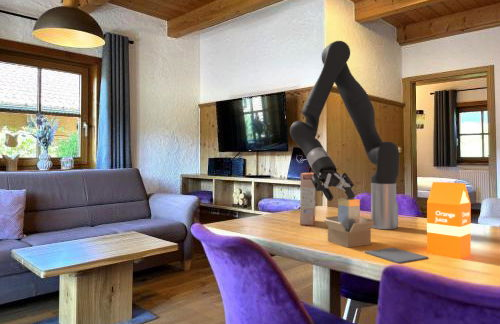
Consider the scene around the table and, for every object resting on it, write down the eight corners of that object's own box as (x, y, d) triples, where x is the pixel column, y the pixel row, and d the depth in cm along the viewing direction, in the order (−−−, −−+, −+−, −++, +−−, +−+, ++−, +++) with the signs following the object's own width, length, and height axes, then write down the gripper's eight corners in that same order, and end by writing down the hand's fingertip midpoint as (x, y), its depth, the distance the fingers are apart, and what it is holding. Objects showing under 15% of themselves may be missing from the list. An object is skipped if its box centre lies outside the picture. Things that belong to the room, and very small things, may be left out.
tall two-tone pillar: (349, 240, 122) (349, 197, 122) (359, 243, 117) (359, 199, 117) (338, 242, 120) (338, 198, 120) (348, 245, 115) (348, 200, 115)
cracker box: (314, 226, 149) (314, 173, 149) (299, 225, 150) (299, 173, 150) (315, 220, 163) (315, 172, 162) (301, 220, 164) (301, 172, 164)
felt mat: (393, 248, 111) (393, 247, 111) (428, 258, 100) (428, 256, 100) (364, 252, 106) (364, 251, 106) (398, 263, 95) (398, 261, 95)
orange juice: (438, 248, 111) (438, 181, 111) (471, 254, 104) (471, 182, 104) (426, 253, 106) (426, 182, 106) (460, 259, 99) (460, 183, 99)
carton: (350, 236, 128) (350, 214, 128) (381, 245, 115) (381, 220, 115) (318, 240, 122) (318, 217, 122) (346, 249, 109) (346, 224, 109)
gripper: (308, 155, 126) (329, 192, 116) (342, 155, 132) (364, 190, 122) (299, 170, 131) (319, 207, 121) (332, 170, 137) (353, 205, 127)
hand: (342, 198), depth 121 cm, fingers open, 8 cm apart
